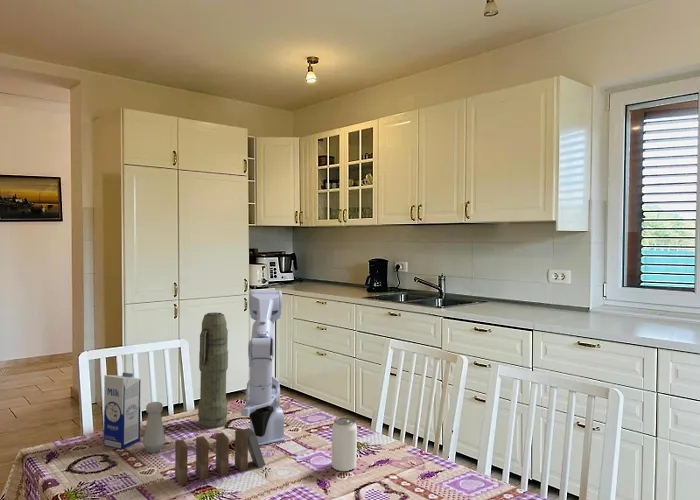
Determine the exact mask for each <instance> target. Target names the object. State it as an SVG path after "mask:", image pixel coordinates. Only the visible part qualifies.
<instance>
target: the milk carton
mask: <svg viewBox="0 0 700 500" xmlns="http://www.w3.org/2000/svg"><path fill="white" fill-rule="evenodd" d="M133 376H134V373H132V372H122V374H121V375H115V374H114V375H112V374H108V375H107V374H106V375H104V382H103V384H104V388H103V389H104V391H103V393H104V395H103V399H104V400H103V402H104V403H103V446H104V447H109V448H114V449H118V450H124V449H126V448H128V447H131V446H133V445H135V444H137V443H139V442H141V405H142V404H141V403H142V401H141V398H142V397H141V396H142V394H141V392H142V391H141V389H142V386H141V385H142V378H138V377H133Z"/></svg>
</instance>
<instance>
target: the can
mask: <svg viewBox="0 0 700 500" xmlns="http://www.w3.org/2000/svg"><path fill="white" fill-rule="evenodd" d="M357 442H358V427H357V424H356V420H355V419H354V418H352V417H346V416H342V417H337V418H335V419H334V420H333V424H332V427H331V467H332V469H333V468H334V469H333V470H335V469H336V470H335V471H337V470H339V471H338V472H341V471H348V472H350V471H349V470H352V469H353V470H355V468H356V467H357V458H358V457H357V454H358V453H357V452H358V451H357V449H358V446H357V444H358V443H357ZM353 470H352V471H353Z"/></svg>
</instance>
